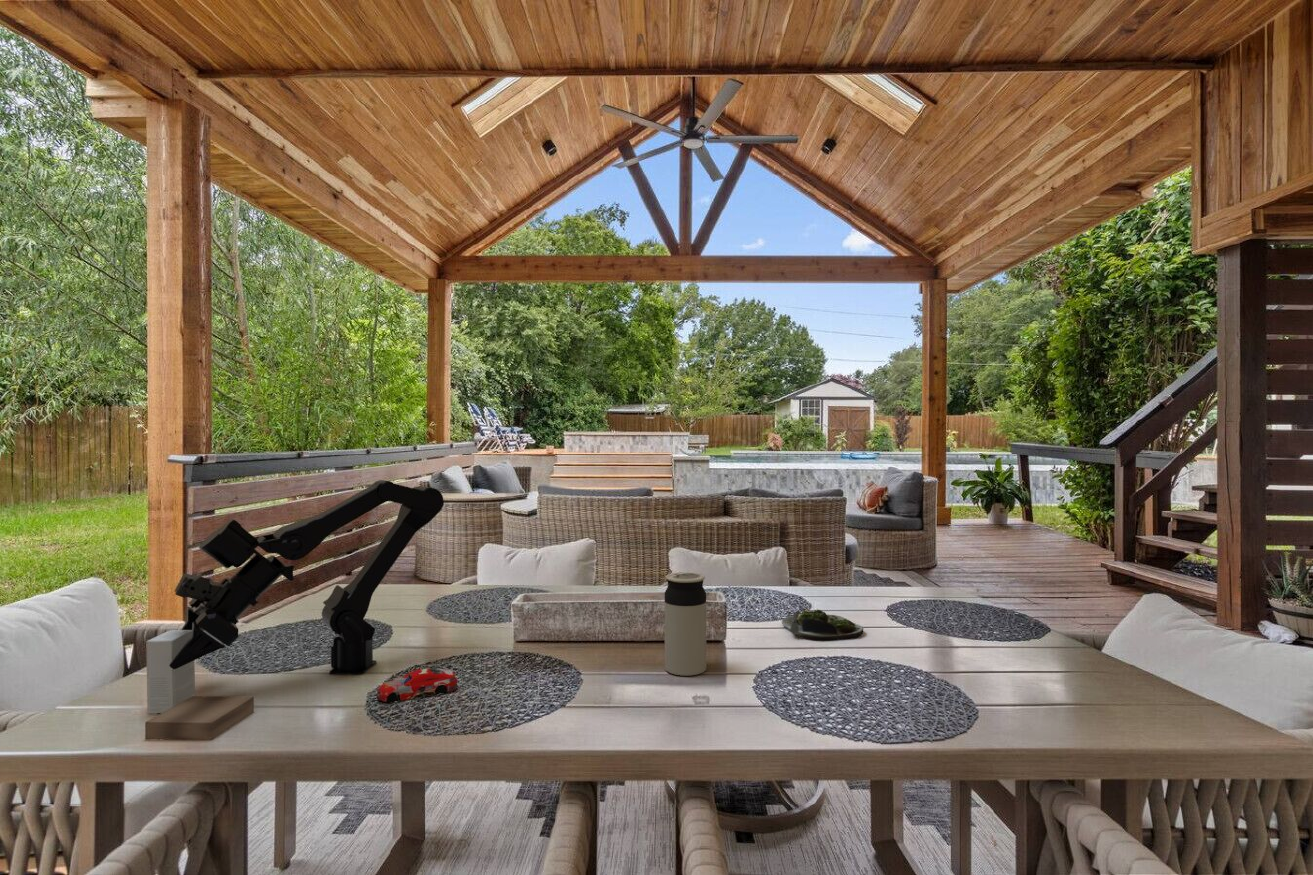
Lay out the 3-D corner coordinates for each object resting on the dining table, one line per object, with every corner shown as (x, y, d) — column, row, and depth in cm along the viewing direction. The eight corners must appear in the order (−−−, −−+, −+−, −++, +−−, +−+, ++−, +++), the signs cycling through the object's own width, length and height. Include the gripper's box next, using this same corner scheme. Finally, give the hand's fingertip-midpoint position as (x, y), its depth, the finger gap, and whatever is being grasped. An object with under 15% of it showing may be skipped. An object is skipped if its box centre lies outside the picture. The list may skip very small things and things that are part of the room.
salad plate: (764, 621, 163) (764, 602, 163) (832, 616, 167) (832, 598, 167) (798, 645, 144) (798, 623, 144) (873, 639, 148) (873, 618, 148)
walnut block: (253, 714, 109) (253, 696, 109) (211, 742, 99) (211, 722, 99) (193, 714, 109) (193, 695, 109) (145, 742, 99) (145, 722, 99)
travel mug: (714, 669, 129) (714, 575, 129) (687, 680, 123) (687, 582, 123) (683, 659, 134) (683, 569, 134) (656, 670, 128) (655, 576, 128)
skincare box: (169, 700, 114) (169, 629, 114) (195, 699, 115) (195, 629, 115) (145, 714, 108) (145, 640, 108) (173, 713, 108) (173, 639, 108)
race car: (377, 707, 112) (377, 683, 112) (376, 696, 117) (375, 673, 117) (459, 694, 117) (458, 671, 117) (454, 683, 122) (454, 661, 122)
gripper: (204, 548, 122) (126, 619, 115) (214, 564, 107) (126, 646, 100) (254, 586, 127) (182, 656, 120) (270, 605, 112) (190, 686, 105)
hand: (170, 660), depth 111 cm, fingers open, 9 cm apart
